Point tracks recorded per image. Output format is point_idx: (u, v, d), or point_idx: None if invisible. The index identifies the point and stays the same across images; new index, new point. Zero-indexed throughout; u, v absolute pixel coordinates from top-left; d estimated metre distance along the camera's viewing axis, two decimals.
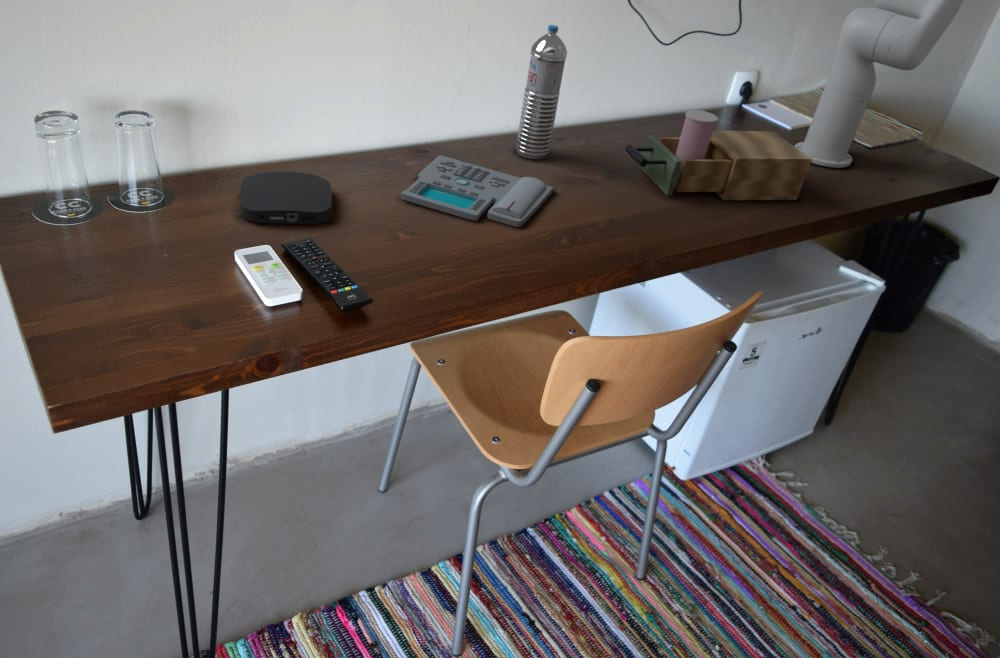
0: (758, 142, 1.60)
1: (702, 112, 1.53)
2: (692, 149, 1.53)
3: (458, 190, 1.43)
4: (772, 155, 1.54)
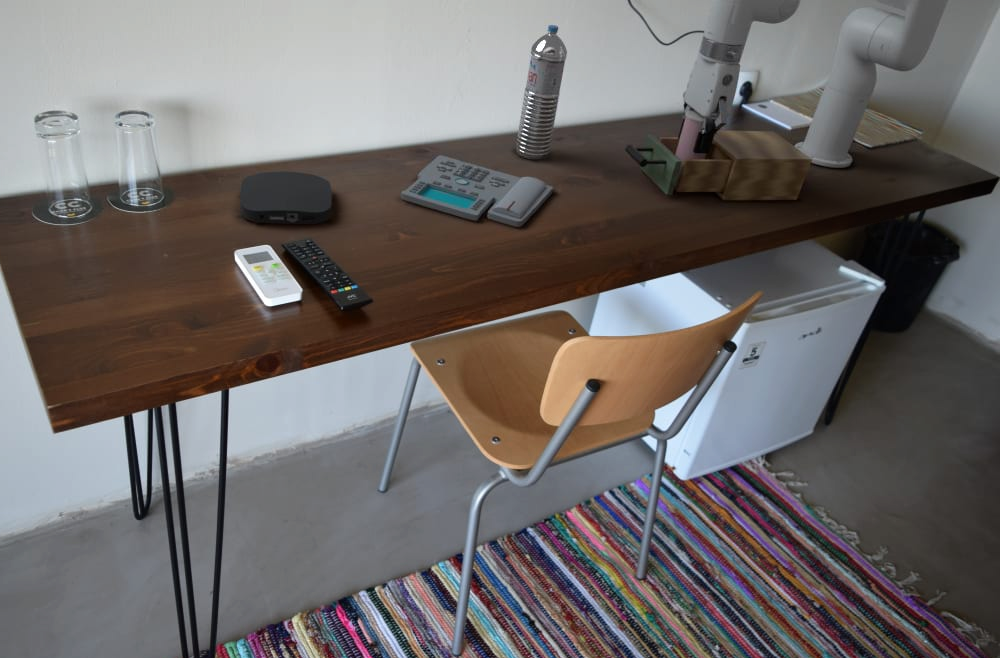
0: (758, 142, 1.60)
1: None
2: (692, 149, 1.53)
3: (458, 190, 1.43)
4: (772, 155, 1.54)
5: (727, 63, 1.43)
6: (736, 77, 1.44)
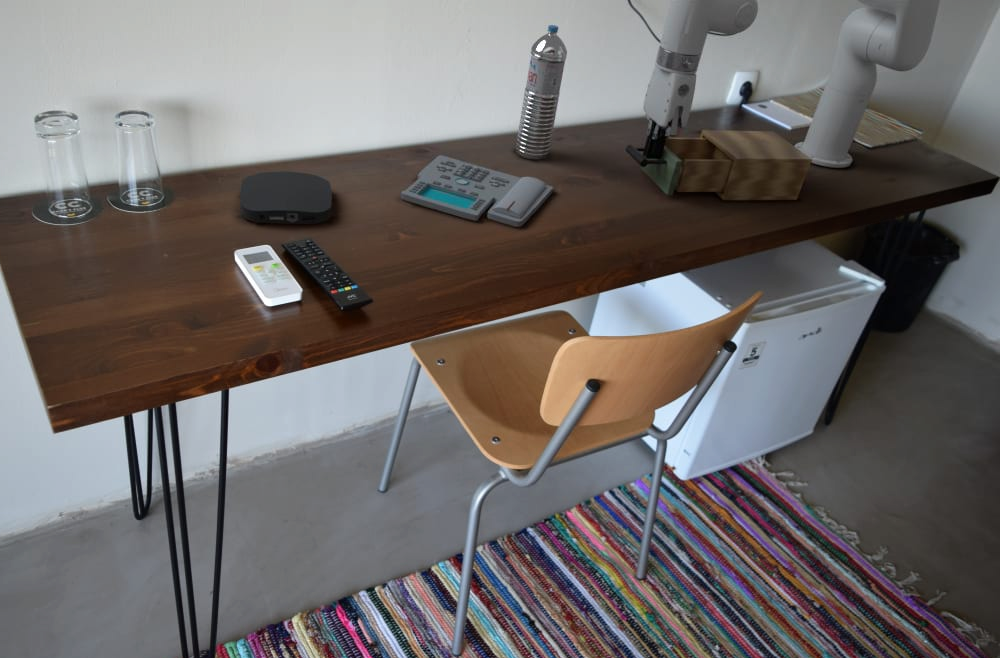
0: (758, 142, 1.60)
1: None
2: None
3: (458, 190, 1.43)
4: (772, 155, 1.54)
5: (683, 73, 1.42)
6: (692, 87, 1.43)
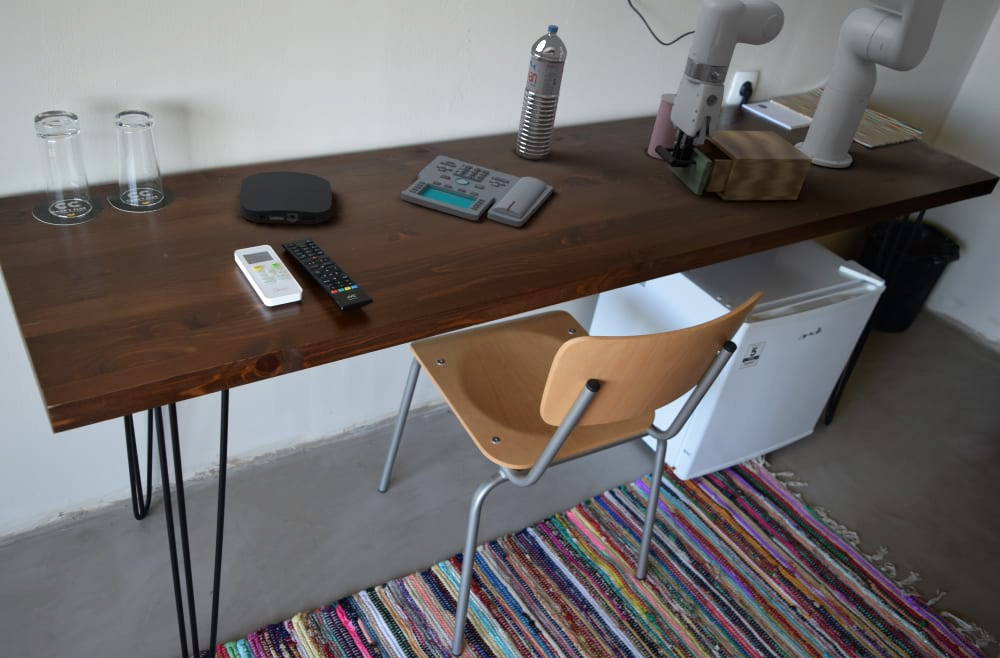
0: (758, 142, 1.60)
1: None
2: (666, 129, 1.66)
3: (458, 190, 1.43)
4: (772, 155, 1.54)
5: (711, 84, 1.44)
6: (720, 97, 1.45)
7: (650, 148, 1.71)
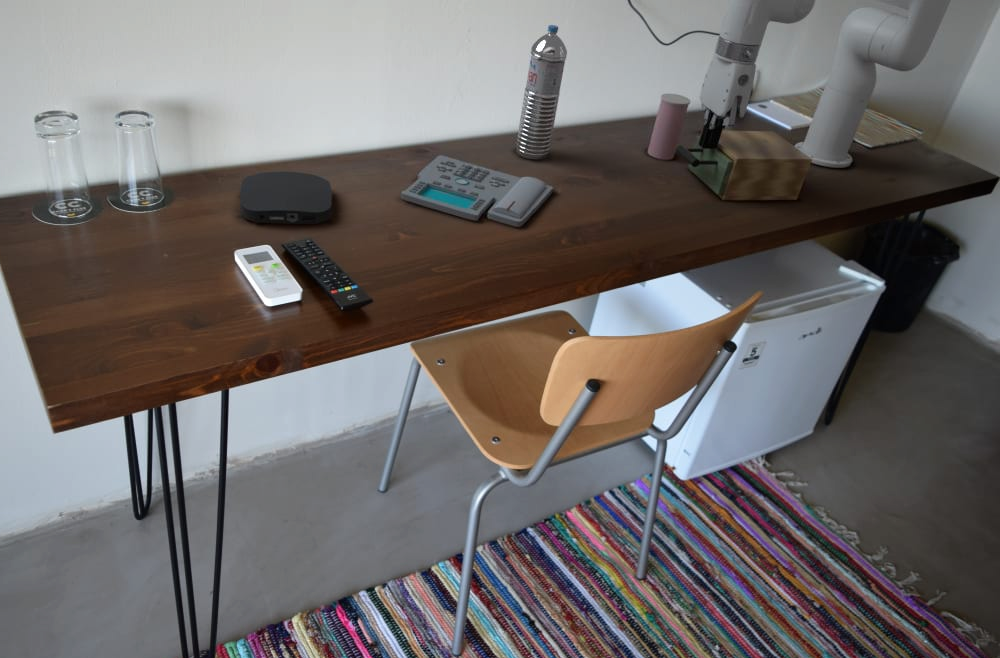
0: (758, 142, 1.60)
1: (676, 95, 1.67)
2: (666, 129, 1.66)
3: (458, 190, 1.43)
4: (772, 155, 1.54)
5: (743, 63, 1.43)
6: (752, 76, 1.44)
7: (650, 148, 1.71)
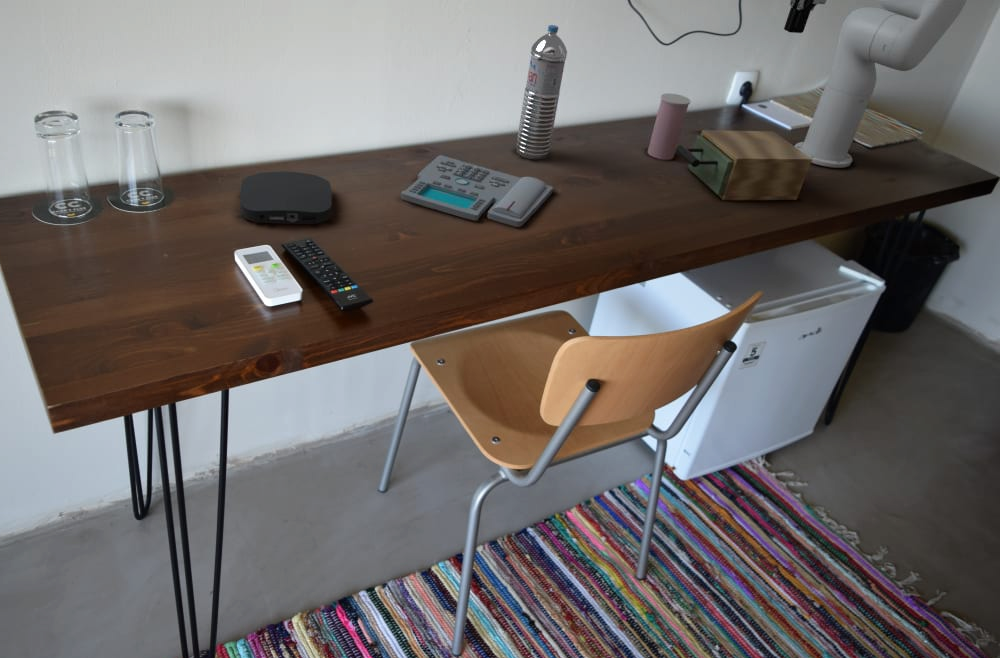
0: (758, 142, 1.60)
1: (676, 95, 1.67)
2: (666, 129, 1.66)
3: (458, 190, 1.43)
4: (772, 155, 1.54)
5: None
6: None
7: (650, 148, 1.71)
